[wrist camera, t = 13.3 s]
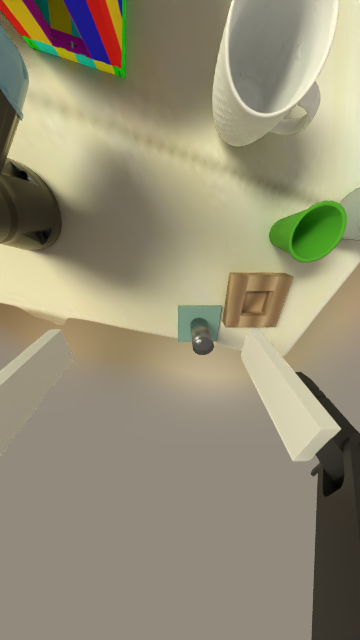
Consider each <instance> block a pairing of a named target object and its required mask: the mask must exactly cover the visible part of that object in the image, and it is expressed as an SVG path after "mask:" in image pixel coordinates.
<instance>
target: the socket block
mask: <svg viewBox="0 0 360 640" xmlns="http://www.w3.org/2000/svg"><path fill="white" fill-rule="evenodd" d="M292 279H293V276H291V275H289V274H286V273H230V275H229V282H228V288H227V294H226V301H225V307H224V313H223V320H222V321H223V323H224V325H225V327H276V324H277V321H278V319H279V316H280V313H281V310H282V307H283V305H284V302H285V299H286V296H287V293H288V291H289V288H290V285H291V282H292Z"/></svg>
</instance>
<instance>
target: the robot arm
mask: <svg viewBox="0 0 360 640" xmlns="http://www.w3.org/2000/svg"><path fill="white" fill-rule="evenodd" d="M28 85H29V77H28V72H27V68H26V66H25V63H24V61H23V58H22V56H21V54H20V52H19V51H18V49H17V47H16V46H15V44H14V43H13V41H12V40H11V38H10V37H9V36H8V34H7V33H6V31H5V30H4V29H3V27H2V26H1V24H0V244H4V245H8V246H12V247H16V248H20V249H26V250H36V249H42V248H46V247H49V246H51V245H52V244H53V243H54V242H55V241H56V240H57V238H58V237H59V234H60V231H61V215H60V211H59V208H58V205H57V202H56V200H55V198H54V196H53V194H52V193H51V191H50V190H49V188H48V187H47V185H46V184H45V183H44V182H43V181H42V180H41V178H40V177H39V176H37V175H36V174H35V173H34V172H33V171H32V170H30V169H29V168H27V167H26V166H24V165H23V164H21V163H19V162H16V161H14V160H11V159H9V158H7V155H8V152H9V149H10V147H11V144H12V141H13V138H14V135H15V132H16V129H17V126H18V123H19V121H20V120H22V119H23V114H22V109H23V105H24V101H25V97H26V93H27V89H28ZM241 359H242V361H243V363H244V365H245V367H246V369H247V371H248V373H249V375H250V377H251V379H252V381H253V383H254V385H255V387H256V389H257V391H258V393H259V395H260V397H261V399H262V401H263V403H264V405H265V407H266V409H267V410H268V413H269V415H270V417H271V419H272V420H273V423H274V425H275V427H276V429H277V431H278V432H279V435H280V437H281V439H282V441H283V443H284V444H285V446H286V448H287V451H288V453H289V454H290V456H291V458H292V460H293V461H310V460H311V459H312V458H313V457H314V456H315V455H316V456H317V458H318V459H319V461H320V463H319V464H318V465H317V466H316V467H315V468H314V469H313V470H312V472H311V475H312V476H315V475H316V474H317V473H318V485H317V511H316V538H315V563H314V564H315V565H314V589H313V615H312V640H360V433H359V432H358V431H357V430H356V429H355V428H354V427H353V426H352V425H351V424H350V423H349V422H348V420H347V419H346V418H345V417H344V416H343V415H342V414H341V413H340V411H339V410H338V409H337V408H336V407H335V406H334V405H333V404H332V403H331V401H330V400H329V399H328V398H326V396H325V395H324V393H323V392H322V391H321V390H319V388H318V387H317V385H316V384H315V383H314V382H313V381H312V380H311V379H310V378H308V377H307V376H306V375H304V374H303V373H301V372H294V371H293V370H292V368H291V367H290V366H289V365H288V363H287V362H286V361H285V360H284V359H283V357H282V356H281V355H280V354H279V352H278V351H277V350H276V349H275V348H274V346H273V345H272V344H271V343H270V341H269V340H268V339H267V338H266V337H265V335H264V334H263V333H262V332H261V330H260V329H248V332H247V335H246V339H245V343H244V346H243V350H242V354H241ZM73 360H74V358H73V356H72V353H71V351H70V349H69V346H68V344H67V342H66V339H65V337H64V335H63V332H62V330H61V329H55V330H54V329H53V330H51V329H50V330H49V331H47V332H46V333H45V334H44V335H43V336H41V337H40V338H39V339H38V340H37V341H35V342H34V343H33V344H32V345H31V346H30V347H28V348H27V349H26V350H25V351H24V352H22V353H21V354H20V355H19V356H18V357H16V358H15V359H14V360H13V361H12V362H10V363H9V364H8V365H7V366H6V367H4V368H3V369H2V370H1V371H0V457H1V455H2V454H3V453H4V451H5V450H6V449H7V447H8V446H9V445H10V443H11V442H12V441H13V439H14V438H15V437H16V435H17V434H18V433H19V431H20V430H21V429H22V427H23V426H24V425H25V423H26V422H27V421H28V419H29V418H30V417H31V415H32V414H33V412H34V411H35V410H36V409H37V407H38V406H39V405H40V403H41V402H42V401H43V399H44V398H45V397H46V395H47V394H48V393H49V391H50V390H51V389H52V387H53V386H54V385H55V383H56V382H57V381H58V379H59V378H60V377H61V375H62V374H63V373H64V372H65V370H66V369H67V367H68V366H69V365H70V363H71V362H72V361H73Z"/></svg>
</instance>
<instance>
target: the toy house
mask: <svg viewBox="0 0 360 640" xmlns="http://www.w3.org/2000/svg"><path fill="white" fill-rule="evenodd" d="M0 10H1V11H2V13H3V14H4V15H5V16H6V18H7V19H8V20H9V21H10V23H11V24H12V25H13V26H14V28H15V29H16V30H17V31H18V32H19V34H20V35H21V36H22V37H23V39H24V40H25V41H26V42H27V44H28V45H29V46H30V47H31V48H34V47H35V48H34V49H37V50H40V51H43V52H46V53H49V54H52V55H55V56H58V57H62V58H65V59H68V60H71V61H74V62H77V63H80V64H83V65H86V66H89V67H92V68H95V69H98V70H102V71H105V72H108V73H111V74H114V75H117V76H120V75H121V77H123V78H125V71H124V70H125V46H126V0H0ZM30 42H31V43H30ZM68 43H70V44H72V45H69V44H68ZM123 67H124V68H123ZM119 72H120V74H119Z"/></svg>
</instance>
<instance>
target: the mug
mask: <svg viewBox="0 0 360 640" xmlns="http://www.w3.org/2000/svg"><path fill="white" fill-rule="evenodd" d="M338 10H339V0H232V2H231V6H230V10H229V13H228V17H227V22H226V26H225V28H224V32H223V38H222V41H221V44H220V50H219V54H218V58H217V64H216V68H215V75H214V84H213V94H212V101H213V103H212V107H213V117H214V121H215V126H216V129H217V131H218V133H219V136H220V137H221V138H222V140H224V141H225V142H226V143H228V144H229V145H232V146H237V147H239V146H244V145H245V146H246V145H248V144H251V143H253V142H255V141H257V140H258V139H260V138H261V137H262V136H264V135H266V134H267V133H268V132H269V131H270V132H273V133H276V134H282V135H290V134H295V133H297V132H299V131H301V130H303V129H304V128H305V127H306V126H307V125H308V124H309V123H310V122H311V120H312V119H313V117H314V115H315V114H316V111H317V109H318V107H319V103H320V91H319V88H318V85H317V83H316V82H315V80H316V78H317V77H318V75H319V73H320V71H321V69H322V67H323V65H324V63H325V61H326V58H327V56H328V53H329V50H330V47H331V44H332V41H333V37H334V33H335V29H336V24H337V18H338ZM296 104H297V105H299V106H301V107H302V108H304V109H305V110H306V112H307V114H306V115H305V116H303V117H301V118H297V119H284V117H285V116H286V115H287V114H289V113H290V111H291V110H292V109H293V108H294V107H295V106H296Z"/></svg>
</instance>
